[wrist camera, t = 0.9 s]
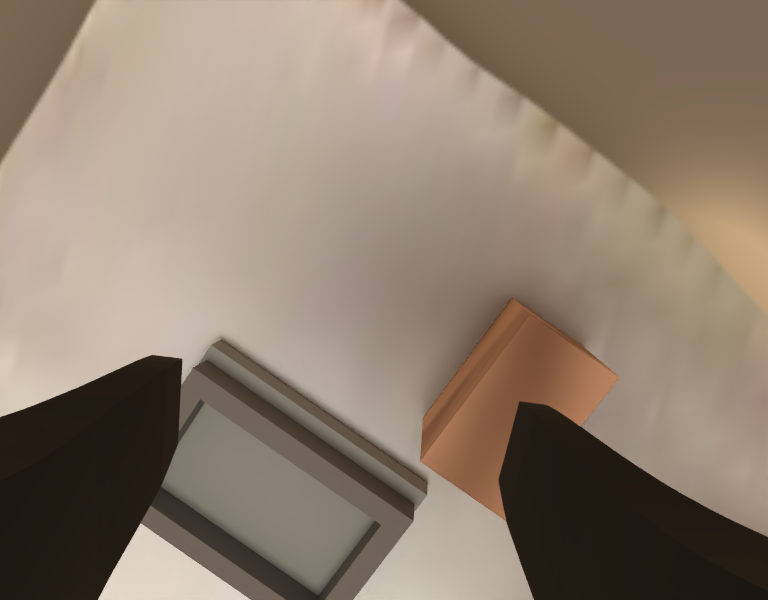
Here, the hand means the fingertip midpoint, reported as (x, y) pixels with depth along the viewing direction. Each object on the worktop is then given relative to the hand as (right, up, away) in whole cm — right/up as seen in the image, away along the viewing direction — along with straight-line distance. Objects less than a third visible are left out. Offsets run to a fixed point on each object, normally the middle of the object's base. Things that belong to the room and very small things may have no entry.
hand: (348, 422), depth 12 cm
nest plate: (-5, -6, +16) cm, 18 cm away
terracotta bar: (+6, -1, +14) cm, 16 cm away
